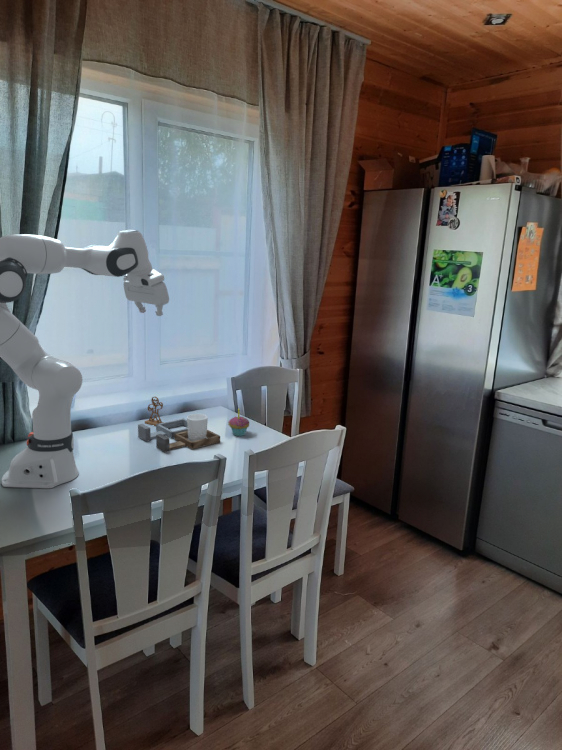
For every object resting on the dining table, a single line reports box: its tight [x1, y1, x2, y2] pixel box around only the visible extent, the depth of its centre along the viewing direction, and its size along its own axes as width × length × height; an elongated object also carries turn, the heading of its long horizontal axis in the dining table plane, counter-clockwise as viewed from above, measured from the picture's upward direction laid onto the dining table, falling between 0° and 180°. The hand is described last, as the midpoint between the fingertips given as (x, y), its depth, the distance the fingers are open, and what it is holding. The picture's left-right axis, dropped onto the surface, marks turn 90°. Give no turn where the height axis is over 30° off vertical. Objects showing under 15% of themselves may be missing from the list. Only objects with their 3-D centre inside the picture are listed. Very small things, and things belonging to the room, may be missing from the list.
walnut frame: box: [155, 429, 221, 453], centre depth 210 cm, size 22×12×5 cm, turn 132°
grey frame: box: [137, 417, 188, 442], centre depth 220 cm, size 22×12×5 cm, turn 132°
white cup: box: [186, 413, 209, 442], centre depth 212 cm, size 8×8×10 cm
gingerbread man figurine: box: [144, 396, 164, 427], centre depth 230 cm, size 9×4×12 cm, turn 59°
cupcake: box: [227, 408, 250, 437], centre depth 222 cm, size 9×8×12 cm
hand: (151, 313), depth 196 cm, fingers open, 8 cm apart
